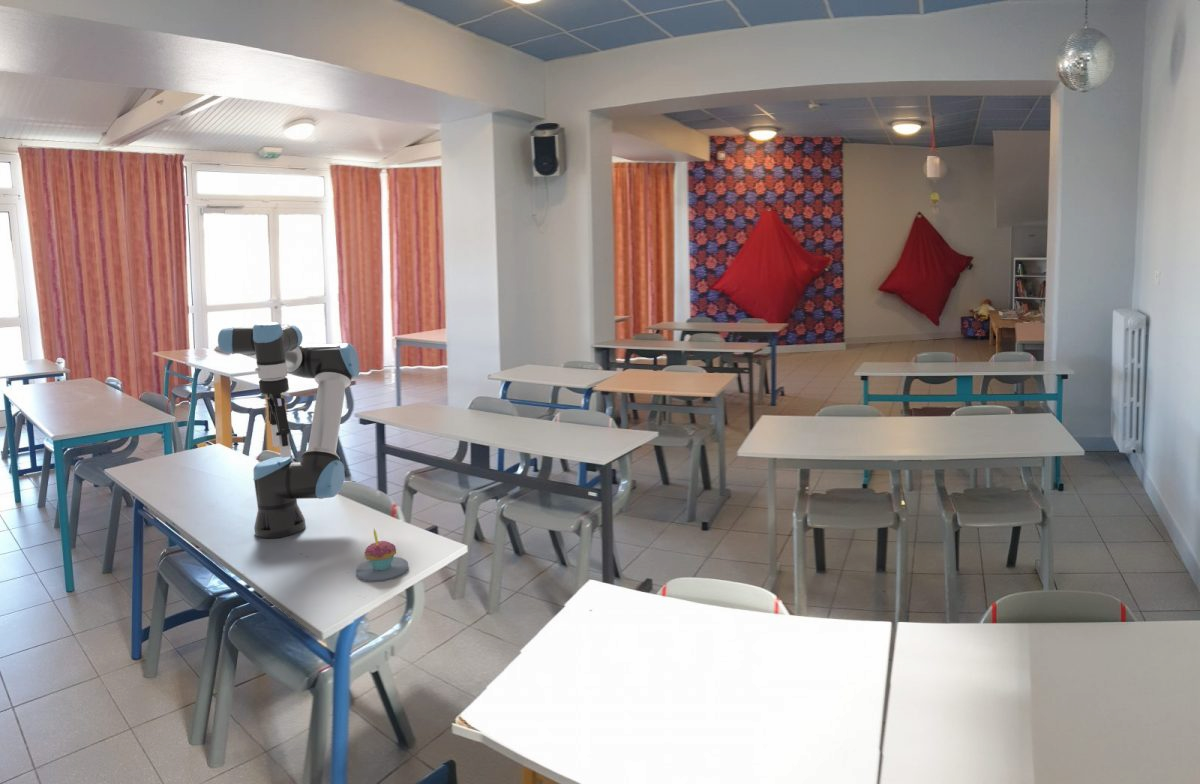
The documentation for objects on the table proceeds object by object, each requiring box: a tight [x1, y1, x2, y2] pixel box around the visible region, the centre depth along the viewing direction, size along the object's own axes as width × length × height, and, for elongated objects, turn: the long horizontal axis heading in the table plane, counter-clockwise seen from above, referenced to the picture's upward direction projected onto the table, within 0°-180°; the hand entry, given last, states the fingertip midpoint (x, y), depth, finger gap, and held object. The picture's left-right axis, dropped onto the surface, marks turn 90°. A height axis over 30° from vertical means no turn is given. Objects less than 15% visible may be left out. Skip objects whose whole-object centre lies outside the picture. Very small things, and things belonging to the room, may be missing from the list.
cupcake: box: [364, 528, 397, 570], centre depth 219 cm, size 9×8×12 cm
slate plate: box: [355, 556, 409, 583], centre depth 221 cm, size 14×14×1 cm
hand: (282, 451), depth 228 cm, fingers open, 13 cm apart
